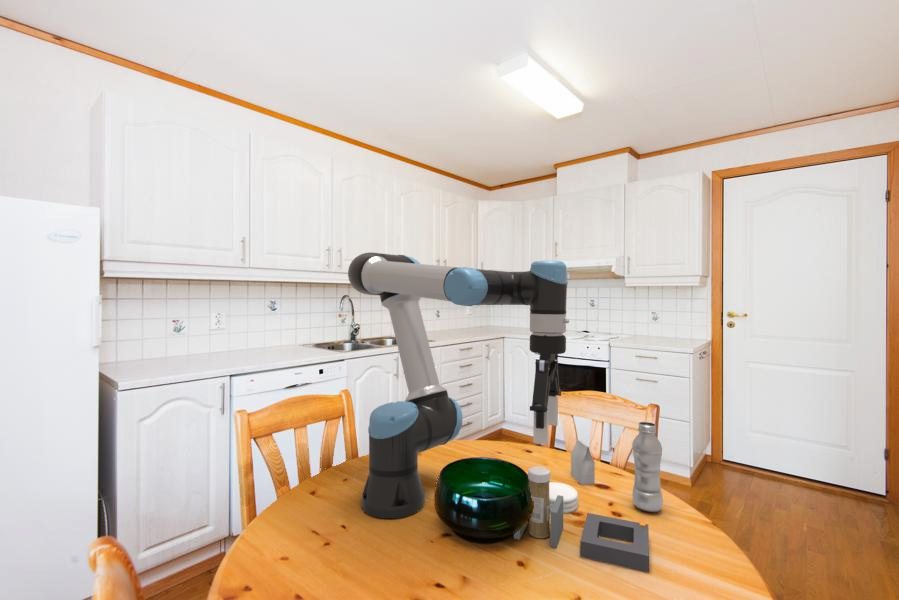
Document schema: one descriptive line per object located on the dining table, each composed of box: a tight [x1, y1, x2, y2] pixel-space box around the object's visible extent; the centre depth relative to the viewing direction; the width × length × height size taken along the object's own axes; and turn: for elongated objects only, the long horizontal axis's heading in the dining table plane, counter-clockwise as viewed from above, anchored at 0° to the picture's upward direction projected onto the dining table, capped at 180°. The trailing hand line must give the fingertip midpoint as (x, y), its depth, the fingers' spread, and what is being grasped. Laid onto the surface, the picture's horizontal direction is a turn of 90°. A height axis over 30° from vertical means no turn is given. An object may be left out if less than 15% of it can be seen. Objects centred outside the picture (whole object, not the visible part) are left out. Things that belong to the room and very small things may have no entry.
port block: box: [579, 512, 650, 574], centre depth 86 cm, size 12×12×3 cm
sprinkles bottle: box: [527, 466, 551, 540], centre depth 91 cm, size 5×5×14 cm
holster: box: [513, 495, 564, 549], centre depth 91 cm, size 9×8×7 cm
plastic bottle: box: [631, 421, 664, 513], centre depth 101 cm, size 6×7×20 cm
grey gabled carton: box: [570, 439, 596, 486], centre depth 118 cm, size 4×7×10 cm, turn 7°
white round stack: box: [549, 481, 579, 515], centre depth 104 cm, size 10×10×4 cm
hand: (546, 433), depth 92 cm, fingers open, 13 cm apart
